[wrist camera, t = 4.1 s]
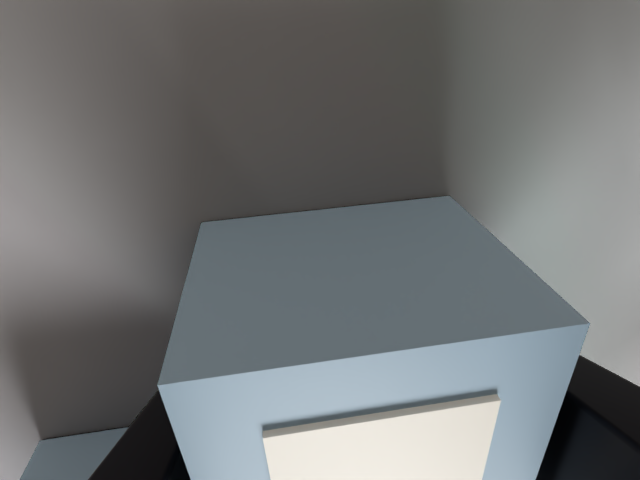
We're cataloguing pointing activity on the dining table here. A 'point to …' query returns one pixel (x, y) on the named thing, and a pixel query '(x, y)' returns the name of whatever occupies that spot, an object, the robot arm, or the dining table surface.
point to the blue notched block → (71, 456)
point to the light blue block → (365, 349)
